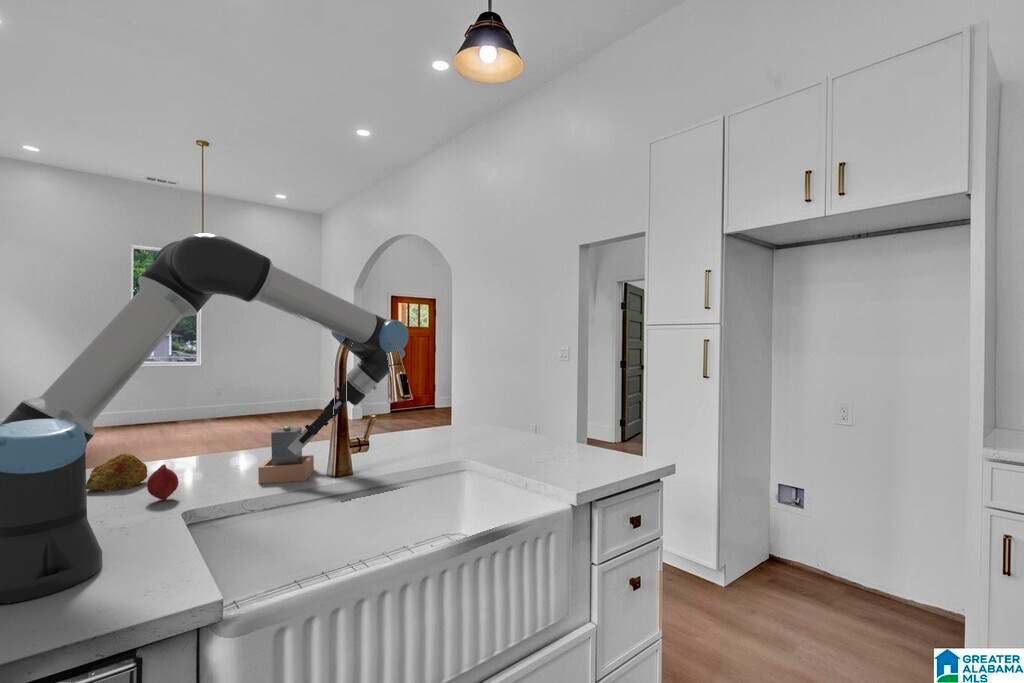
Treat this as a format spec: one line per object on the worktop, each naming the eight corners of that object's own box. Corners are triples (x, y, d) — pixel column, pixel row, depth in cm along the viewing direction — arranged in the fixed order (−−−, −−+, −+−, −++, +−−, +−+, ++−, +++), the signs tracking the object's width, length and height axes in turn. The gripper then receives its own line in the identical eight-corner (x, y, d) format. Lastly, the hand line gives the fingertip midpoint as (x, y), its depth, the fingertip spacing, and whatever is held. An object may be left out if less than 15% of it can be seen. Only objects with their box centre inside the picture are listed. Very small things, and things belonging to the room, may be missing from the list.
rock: (112, 509, 121) (74, 483, 119) (116, 505, 128) (81, 480, 126) (153, 471, 127) (118, 444, 124) (155, 469, 134) (122, 444, 131)
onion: (142, 505, 111) (141, 468, 111) (153, 497, 117) (153, 462, 117) (173, 502, 113) (172, 466, 113) (182, 495, 118) (182, 460, 118)
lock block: (297, 474, 131) (296, 428, 131) (272, 476, 130) (271, 429, 129) (302, 468, 137) (301, 424, 137) (278, 470, 136) (277, 425, 135)
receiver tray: (305, 480, 129) (305, 464, 129) (258, 483, 127) (258, 467, 127) (313, 469, 140) (313, 454, 140) (270, 472, 138) (270, 457, 137)
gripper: (363, 401, 125) (298, 467, 122) (369, 390, 150) (316, 444, 147) (339, 380, 124) (274, 446, 121) (350, 372, 148) (295, 427, 146)
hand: (297, 445), depth 134 cm, fingers open, 13 cm apart
